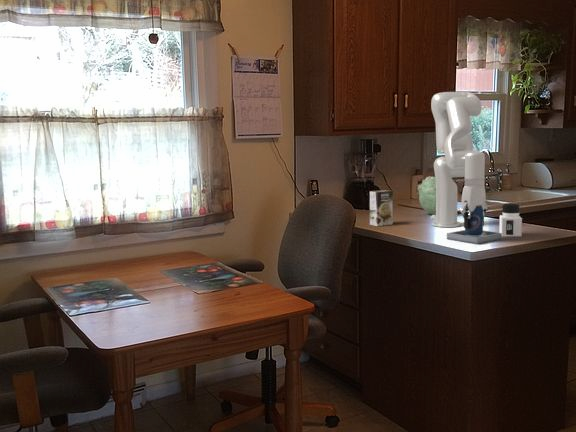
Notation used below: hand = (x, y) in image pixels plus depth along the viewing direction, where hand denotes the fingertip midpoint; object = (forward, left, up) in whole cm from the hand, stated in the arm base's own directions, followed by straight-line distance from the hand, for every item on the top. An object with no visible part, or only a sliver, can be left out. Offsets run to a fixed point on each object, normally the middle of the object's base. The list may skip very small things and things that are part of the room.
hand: (473, 226), depth 247 cm
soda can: (0, 0, -3) cm, 3 cm away
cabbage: (-55, +39, -5) cm, 67 cm away
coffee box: (-53, -1, -5) cm, 53 cm away
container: (+4, +18, -5) cm, 19 cm away
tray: (0, 0, -5) cm, 5 cm away
